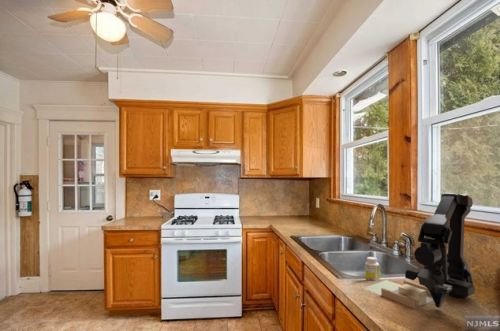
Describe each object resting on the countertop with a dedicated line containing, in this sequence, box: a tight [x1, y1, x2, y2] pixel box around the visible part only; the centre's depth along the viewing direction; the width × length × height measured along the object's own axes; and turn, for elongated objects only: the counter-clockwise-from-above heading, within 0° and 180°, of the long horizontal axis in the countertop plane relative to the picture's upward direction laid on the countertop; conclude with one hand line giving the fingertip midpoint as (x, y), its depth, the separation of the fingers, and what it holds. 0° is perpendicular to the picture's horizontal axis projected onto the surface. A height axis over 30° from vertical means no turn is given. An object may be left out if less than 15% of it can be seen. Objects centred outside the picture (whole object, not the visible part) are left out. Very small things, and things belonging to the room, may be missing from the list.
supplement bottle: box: [364, 256, 380, 282], centre depth 118 cm, size 6×6×10 cm
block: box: [398, 283, 426, 305], centre depth 96 cm, size 7×5×4 cm
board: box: [363, 279, 434, 310], centre depth 102 cm, size 20×16×4 cm
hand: (438, 307), depth 89 cm, fingers closed
